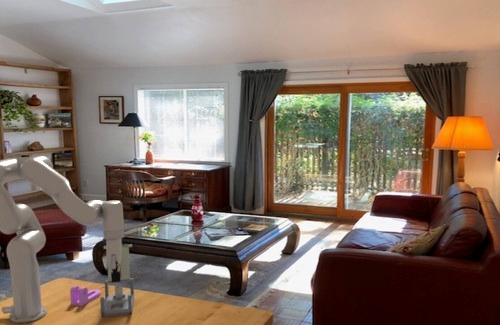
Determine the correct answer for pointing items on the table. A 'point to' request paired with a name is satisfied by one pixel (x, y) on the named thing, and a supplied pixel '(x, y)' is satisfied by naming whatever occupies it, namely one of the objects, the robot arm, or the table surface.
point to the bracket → (82, 295)
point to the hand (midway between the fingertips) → (116, 279)
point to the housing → (117, 301)
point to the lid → (122, 265)
